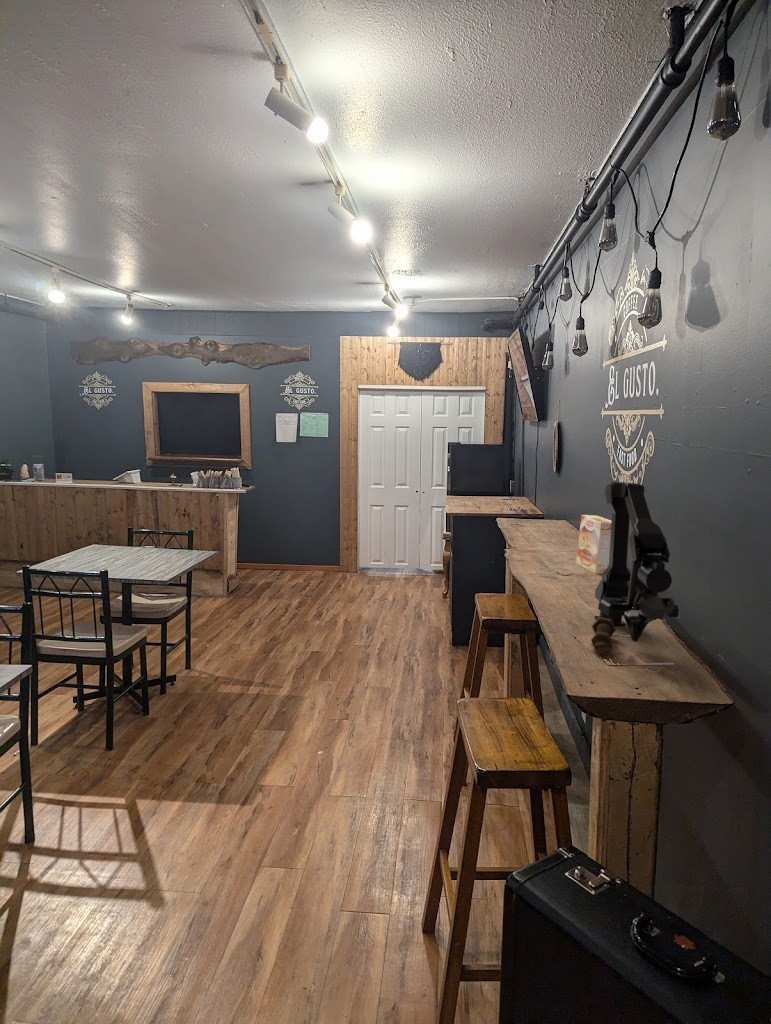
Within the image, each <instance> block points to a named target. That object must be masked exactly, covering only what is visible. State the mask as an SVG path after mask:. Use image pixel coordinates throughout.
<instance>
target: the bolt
mask: <svg viewBox="0 0 771 1024" xmlns="http://www.w3.org/2000/svg"><path fill="white" fill-rule="evenodd" d="M615 626H616V625H614V624H613V622H612V620H611V619H608V618H602V617H599V618H598V619H596V620H595V621H594V622H593V624H592V626H591V628H592V630H593V632H594V634H593V635H594V636H593V637H592V639H591V641H592V643H593V646H594V649H595V651H596V652H598V653H605V652H607V651H608V649H609V648H610V647H611V645H612V644H613V642H612V639H613V638H612V637H611V636H612V635H614V633H616V627H615ZM611 638H612V639H611Z"/></svg>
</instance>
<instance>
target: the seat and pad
mask: <svg viewBox="0 0 771 1024" xmlns="http://www.w3.org/2000/svg"><path fill="white" fill-rule="evenodd" d="M580 635H581V636H582V637H581V638H582V640H583V641H584V642H585V643H582V644H581V645H582V646H584V647H585V648H586V649H587V648H588V649H587V650H589V651H590V652H591V653H592V654H593V653H594V655H595V656H596V657H597V658H598V657H599V658H598V659H600V660H601V661H602V660H603V659H606V660H607V661H609V662H610V660H609V659H611V660H612V662H613V663H614V664H616V665H617V663H619V664H621V665H623V664H625V666H671V665H673V666H675V664H676V663H674V662H651V663H650V662H648V663H647V662H645V661H644V660H642V659H641V658H639V656H637V655H635V654H633V653H632V652H631V651H630V650H628V649H627V648H626V647H624V645H623V646H622V644H620V643H619V642H617V641H616V640H615V639H613V638H615V637H616V638H619V637H622V638H623V636H624V638H629V637H630V638H631V635H630V634H628V635H627V634H617V635H616V634H613V635H612V637H613V638H612V637H611V639H612V642H613V644H612V645H611V647H610V648H609V649H608V651H607V652H605V653H598V652H596V651H595V649H594V646H593V643H591V642H592V641H591V639H592V637H593V636H594V635H595V634H580ZM583 635H584V636H583ZM588 635H589V636H590V637H589V636H588ZM578 637H579V636H578ZM579 638H580V637H579ZM579 638H578V639H579ZM586 639H587V641H589V642H590V644H589V643H587V642H586ZM582 640H580V639H579V641H582ZM579 641H578V642H579ZM583 641H582V642H583ZM600 657H601V658H600ZM610 663H611V662H610Z"/></svg>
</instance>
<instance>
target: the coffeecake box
mask: <svg viewBox="0 0 771 1024" xmlns="http://www.w3.org/2000/svg"><path fill="white" fill-rule="evenodd" d="M580 516H581V517H580V523H579V525H580V527H579V535H578V544H577V553H576V562H575V564H576V565H578V566H580V567H582V568H583V569H585V570H586V571H589V572H591V573H592V574H594V575H602V574H603V573H604V571H605V570H606V569H607V567H608V566H609V555H610V539H611V523H612V519H611V520H610V519H608V518H606V517H602V516H600V515H594V514H593V515H592V514H581V515H580Z"/></svg>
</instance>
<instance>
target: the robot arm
mask: <svg viewBox="0 0 771 1024" xmlns="http://www.w3.org/2000/svg"><path fill="white" fill-rule="evenodd" d="M604 496H605V498H606V505H607V507H608V509H609V512H610V513H611V521H612V523H611V539H610V555H609V566H608V567H607V569H606V570H605V571H604V573H603V574H601V580H600V581H599V583H598V585H597V586H596V588H595V590H594V591H595V592H594V593H595V595H594V598H596V600H597V601H598V602H599V603H598V606H597V607H598V608H597V610H598V611H599V615H594V617H593V618H594V619H596V620H597V619H598V618H599V617H602V618H608V619H611V620H612V622H613V624H614V626H626V625H627V628H628V631H629V635H631V637H630V639H631V641H632V642H636V643H637V642H638V640H639V639H640V638H641V636H642V634H643V632H644V630H645V629H646V627H647V626H648V624H649V623H651V622H653V621H657V620H664V618H665V616H667V617H668V618H679V617H680V608H679V606H678V604H676V603H675V600H674V599H673V598H671V597H659V595H658V593H664V592H665V591H667V590H668V589H669V588H670V587H671V585H672V582H673V579H672V575H671V574H670V571H668V570H667V569H665V566H666V564H668V563H669V562H670V559H669V558H670V557H671V554H670V550H669V545H668V542H667V538H666V536H665V535H664V533H663V531H662V529H661V527H660V525H658V524H657V523H655V522H654V521H653V519H652V515H651V513H650V509H649V506H648V503H647V500H646V496H645V486H644V485H643V484H641V483H635V482H625V481H624V482H622V481H611V482H610V483H609V484H607V485H606V487H605V491H604ZM630 524H631V528H632V530H631V534H630V535H629V533H630V532H629V531H630ZM629 549H630V551H631V552H630V553H631V558H632V561H631V568H630V570H629V568H628V565H627V564H628V551H629ZM623 618H624V621H623Z"/></svg>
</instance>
